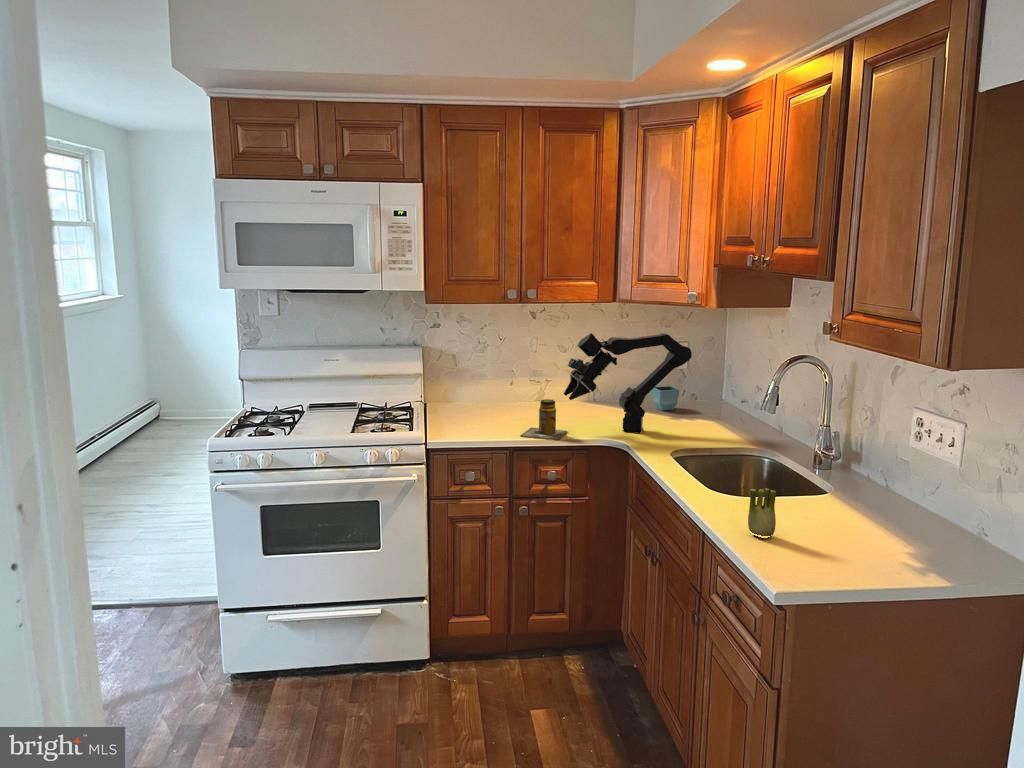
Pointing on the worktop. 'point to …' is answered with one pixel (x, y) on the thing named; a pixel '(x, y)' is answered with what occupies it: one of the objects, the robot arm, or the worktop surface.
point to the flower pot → (665, 397)
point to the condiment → (547, 418)
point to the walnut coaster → (550, 437)
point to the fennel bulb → (762, 512)
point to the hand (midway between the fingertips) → (566, 396)
